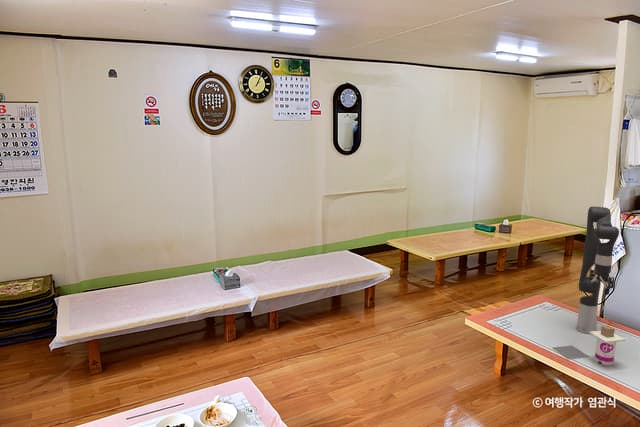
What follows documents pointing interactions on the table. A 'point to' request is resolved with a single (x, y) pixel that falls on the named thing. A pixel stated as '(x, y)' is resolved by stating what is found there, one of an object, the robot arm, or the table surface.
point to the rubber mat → (570, 352)
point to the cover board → (607, 340)
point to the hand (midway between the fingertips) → (599, 291)
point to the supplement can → (605, 352)
